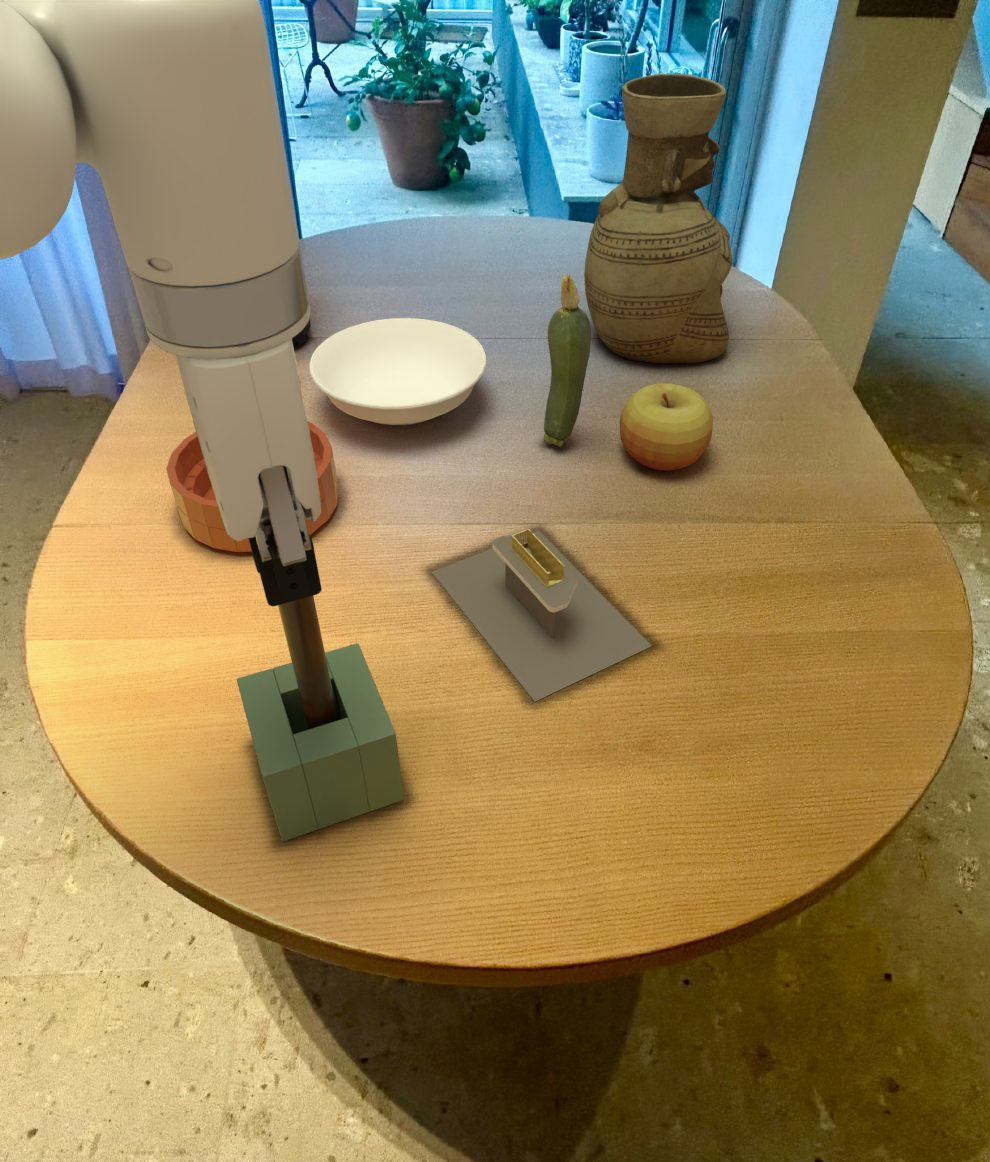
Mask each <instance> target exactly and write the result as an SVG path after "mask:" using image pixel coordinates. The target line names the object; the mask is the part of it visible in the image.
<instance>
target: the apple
mask: <svg viewBox="0 0 990 1162" xmlns="http://www.w3.org/2000/svg"><path fill="white" fill-rule="evenodd" d="M707 403H708V402H707V401H706V399H704V398H703V396H701V394H699V393H698V392H697V391H695V390H694V389H692V388H690V387H687V386H684V385H681V384H676V383H670V382H668V383H667V382H666V383H665V382H664V383H653V384H650V385H646V386H644V387H642V388H640V389H639V390H637V391H636V392H634V393H633V394H632V395H631V396H630V397H629V398H628V400H627V401H626V403H625V404H624V407H623V408H622V409H621V412H620V417H619V436H620V441H621V443H622V444H623V447H624V448H625V450H626V451H627V452H628V454H629V455H630V457H631V458H632V459H633V460H634V461H636V462H638V463H639V464H641V465H643V466H644V467H646V468H649V469H653V470H656V471H675V470H681V469H684V468H686V467H688V466H691V465H692V464H694V463H696V462H697V461H698V460H699V458H701V456H702V455H703V454H704V453H705V451H706V450H707V449H708V448H709V447H710V443H711V441H712V437H713V426H714V417H713V413H712V411H711V409H710V406H709V405H708V404H707Z"/></svg>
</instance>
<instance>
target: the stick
mask: <svg viewBox="0 0 990 1162" xmlns="http://www.w3.org/2000/svg"><path fill="white" fill-rule="evenodd" d="M264 528H265V532H266V536H267V535H268V534H271V533H274V532H273V528H272V525H268V526H264ZM314 596H315V595H314ZM314 596H310V597H306V598H303V599H299V600H296V601H292V602H288V603H285V604H281V605H278V606H277V607H278V611H279V615H280V616H279V617H280V619H281V624H282V628H283V631H284V635H285V640H286V644H287V648H288V653H289V656H290V660H291V663H292V665H293V669H294V673H295V677H296V681H297V685H298V689H299V694H300V698H301V702H302V706H303V710H304V714H305V718H306V722H307V726H308V730H309V729H312V728H316V727H319V726H322V725H325V724H328V723H331V722H335V721H338V720H339V719H338V715H337V710H336V705H335V700H334V695H333V690H332V685H331V680H330V675H329V670H328V665H327V660H326V655H325V652H326V651H325V645H324V640H323V637H322V632H321V627H320V621H319V617H318V611H317V607H316V603H315V602H316V601H315V597H314Z"/></svg>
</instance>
